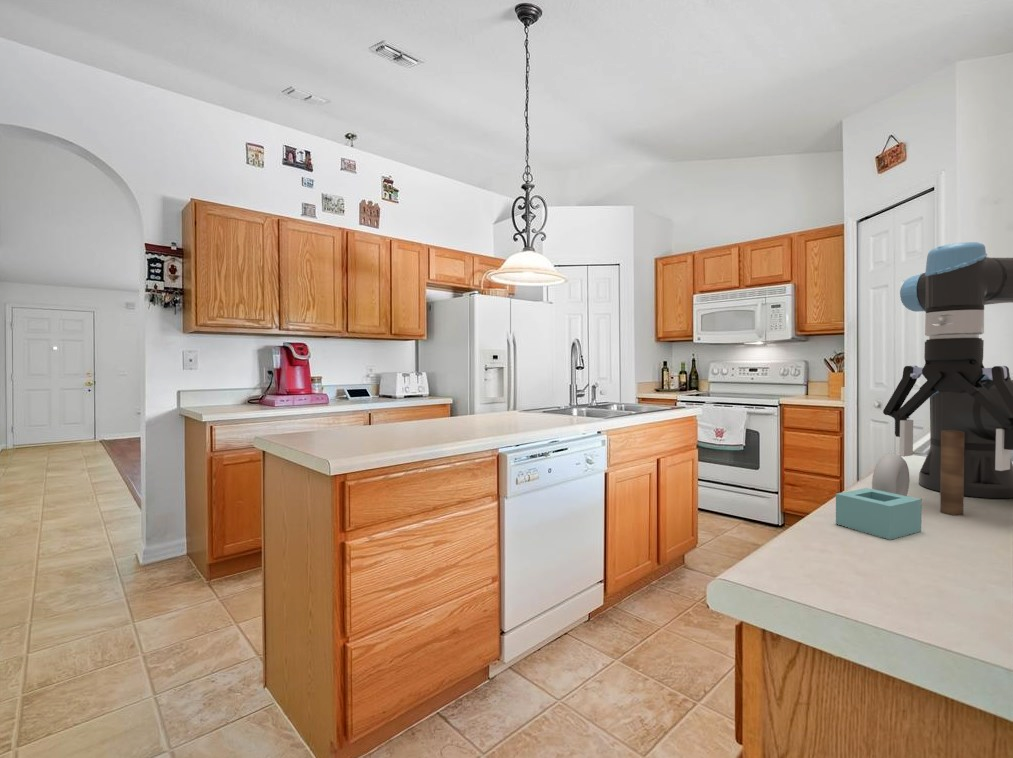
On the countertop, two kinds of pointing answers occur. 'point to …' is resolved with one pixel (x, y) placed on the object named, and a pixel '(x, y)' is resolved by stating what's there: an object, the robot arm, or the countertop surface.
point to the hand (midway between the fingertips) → (950, 462)
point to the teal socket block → (879, 512)
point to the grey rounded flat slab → (891, 475)
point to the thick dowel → (952, 472)
